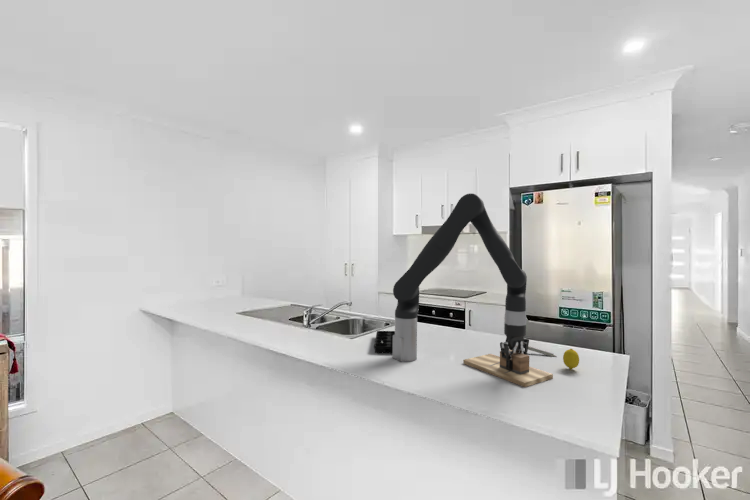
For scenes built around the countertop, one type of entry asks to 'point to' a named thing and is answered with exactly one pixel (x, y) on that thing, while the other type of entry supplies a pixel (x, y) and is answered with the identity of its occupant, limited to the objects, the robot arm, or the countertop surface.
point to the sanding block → (517, 363)
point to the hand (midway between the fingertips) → (514, 368)
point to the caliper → (541, 351)
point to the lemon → (571, 358)
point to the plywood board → (492, 366)
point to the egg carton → (384, 341)
